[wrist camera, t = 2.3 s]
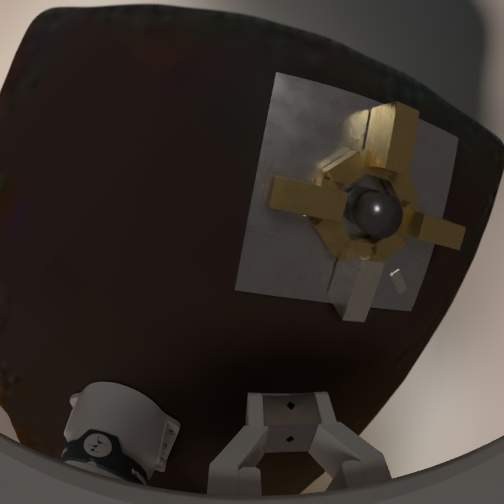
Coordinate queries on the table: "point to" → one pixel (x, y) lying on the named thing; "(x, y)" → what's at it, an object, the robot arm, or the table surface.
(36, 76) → the table surface
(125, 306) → the table surface
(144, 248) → the table surface
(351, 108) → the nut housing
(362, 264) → the gold propeller
